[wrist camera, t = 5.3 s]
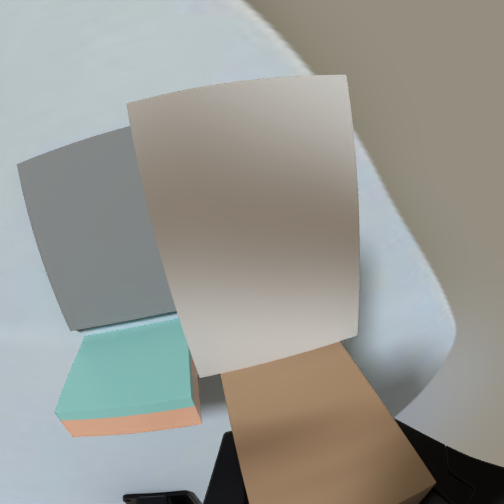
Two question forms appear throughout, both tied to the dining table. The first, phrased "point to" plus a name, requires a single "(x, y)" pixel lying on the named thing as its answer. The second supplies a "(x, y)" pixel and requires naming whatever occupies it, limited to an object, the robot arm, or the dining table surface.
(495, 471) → the robot arm
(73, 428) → the tile
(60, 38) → the dining table surface
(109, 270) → the plate
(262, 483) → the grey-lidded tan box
